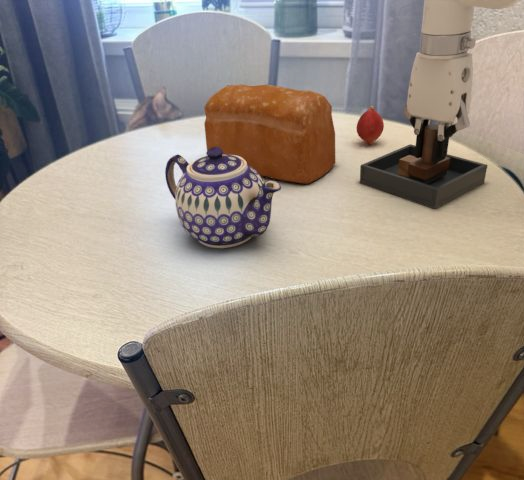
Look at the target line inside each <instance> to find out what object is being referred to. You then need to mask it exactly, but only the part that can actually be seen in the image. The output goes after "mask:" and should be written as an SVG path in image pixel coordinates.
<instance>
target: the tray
mask: <svg viewBox="0 0 524 480" xmlns="http://www.w3.org/2000/svg"><path fill="white" fill-rule="evenodd" d="M415 147H416V144H410V143H409V144H407V145H405V146H402V147H400V148H398V149H395V150H393V151H391V152H388V153H386V154H384V155H381V156H379V157H376V158H374V159H371V160H369V161H367V162H365V163H363V164H360V168H359V169H360V170H359V171H360V172H359V183H360V184H363V185H366V186H368V187H371V188H373V189H376V190H380V191H381V192H385V193H388V194H390V195H394V196H396V197H400V198H403V199H405V200H407V201H411V202H414V203H415V204H416V203H417V204H419V205H423V206H425V207H428V208H431V209H434V210H436V209H439V207H441V206H443V205H445V204H447V203H449V202H451V201H453V200H455V199H457V198H459V197H461V196H463V195H464V194H466V193H469V192H470V191H472V190H474V189H476V188H477V187H480V186H482V185H483V184H485V179H486V175H487V171H488V164H485V163H482V162H478V161H474V160H471V159H467V158H464V157H459V156H456V155H453V154H448V153H447V155H446V157H449V158H450V165H449V169H447V175H445V176H443V177H441V178H439V179H437V180H435V181H433V182H431V183H429V184H424V183H421V182H418V181H415V180H412V179H409V178H408V177H404V176H401V175H398V169H399V159H401V158H403V157H406V156H408V155H412V156H415V152H416V150H415ZM420 158H422V157H420Z"/></svg>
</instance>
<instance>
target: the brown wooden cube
mask: <svg viewBox="0 0 524 480" xmlns="http://www.w3.org/2000/svg"><path fill="white" fill-rule="evenodd" d="M418 159H421V158H415V156H412V155H408V156H406V157H403V158H401V159H399V169H398V175H401V176H404V177H408V178H409V175H408V165H409V163H412V162H414V161H416V160H418Z"/></svg>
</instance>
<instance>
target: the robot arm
mask: <svg viewBox="0 0 524 480" xmlns="http://www.w3.org/2000/svg"><path fill="white" fill-rule="evenodd" d="M520 1H521V0H423V10H422V21H421V30H420V31H421V32H420V41H419V50H418V52H416V55H415V57H414V60H413V64H412V69H411V73H410V78H409V83H408V91H407V99H406V105H405V107H404V109H403V111H402V114H403V116H404V117H405V118H406V119H407V120H408V121H409V122H410V125H411V126H412V129H413V134H414V135H415V136H416V139H415V146H416V147H415V150H416V152H415V158H420V157H422V149H423V140H424V132H425V126H427V125H431V121H434V122H437V125H438V139H437V140H435V141H434V147H433V155H432V162H433V163H437V162H439V161H441V160H444V159H445V157H446V155H447V154H448V151H449V150H448V149H449V143H450V138H452V137H453V135H455V134H456V133H458V132H459V131H461V130H464V129H466V128H468V127H470V125H471V123H470V118H469V113H470V109H471V103H472V102H471V101H472V92H473V82H474V81H473V79H474V78H473V77H474V66H473V65H474V64H473V63H474V62H473V54H472V53H469V52H468V51H469V50H470V49H471V50H472V49H474V48H475V46H476V39H475V38H472V37H471V35H472V32H471V30H472V26H473V25H472V24H473V17H474V13H475V12H474V11H475V7H476V8H483V9H490V10H503V9H507V8H510V7H512V6H514V5H516V4H517V3H519V2H520ZM456 119H457V122H456V123H455V120H456Z"/></svg>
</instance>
